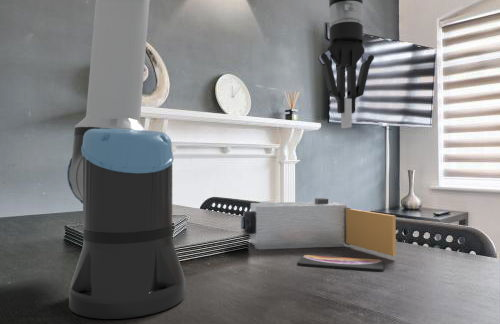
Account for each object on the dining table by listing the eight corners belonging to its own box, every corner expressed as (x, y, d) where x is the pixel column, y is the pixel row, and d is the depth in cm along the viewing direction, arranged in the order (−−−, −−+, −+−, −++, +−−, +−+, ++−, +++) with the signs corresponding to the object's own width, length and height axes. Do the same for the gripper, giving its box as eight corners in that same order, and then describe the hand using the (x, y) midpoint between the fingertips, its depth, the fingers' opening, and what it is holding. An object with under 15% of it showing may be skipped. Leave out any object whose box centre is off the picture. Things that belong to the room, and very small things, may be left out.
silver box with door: (244, 250, 84) (244, 202, 84) (239, 242, 92) (239, 198, 92) (346, 246, 88) (346, 200, 88) (333, 239, 96) (333, 197, 96)
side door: (399, 256, 76) (399, 214, 76) (392, 257, 75) (392, 215, 75) (351, 243, 88) (351, 207, 88) (344, 244, 87) (344, 207, 87)
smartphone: (303, 254, 79) (383, 259, 75) (303, 258, 79) (383, 263, 75) (296, 262, 72) (384, 269, 67) (296, 267, 72) (384, 274, 67)
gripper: (324, 18, 88) (324, 125, 88) (380, 21, 90) (380, 126, 90) (313, 29, 95) (314, 128, 96) (365, 31, 97) (365, 129, 97)
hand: (346, 127), depth 93 cm, fingers closed
